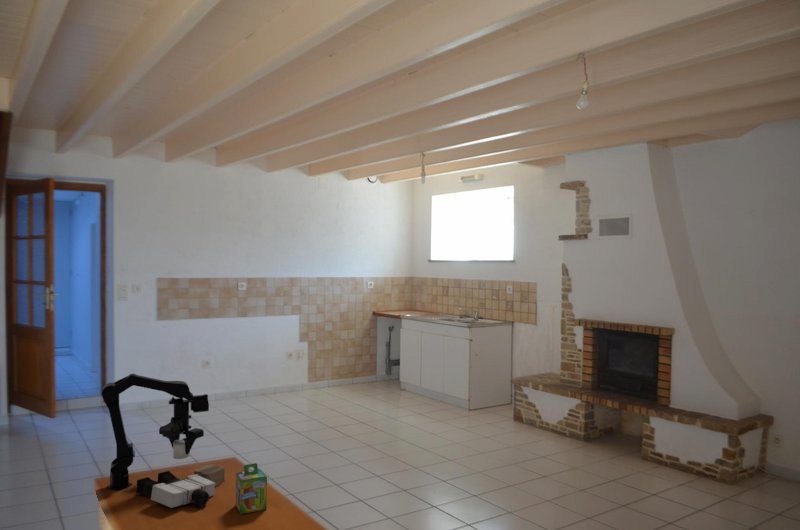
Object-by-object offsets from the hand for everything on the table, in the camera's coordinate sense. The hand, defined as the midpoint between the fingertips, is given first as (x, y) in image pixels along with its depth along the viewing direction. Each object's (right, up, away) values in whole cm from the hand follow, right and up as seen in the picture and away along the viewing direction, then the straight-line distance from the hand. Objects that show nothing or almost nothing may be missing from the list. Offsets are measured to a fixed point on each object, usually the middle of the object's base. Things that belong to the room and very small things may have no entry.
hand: (181, 453), depth 230 cm
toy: (+6, -10, -20) cm, 23 cm away
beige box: (+13, -10, -7) cm, 18 cm away
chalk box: (+35, -10, -28) cm, 46 cm away
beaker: (0, -1, 0) cm, 1 cm away
